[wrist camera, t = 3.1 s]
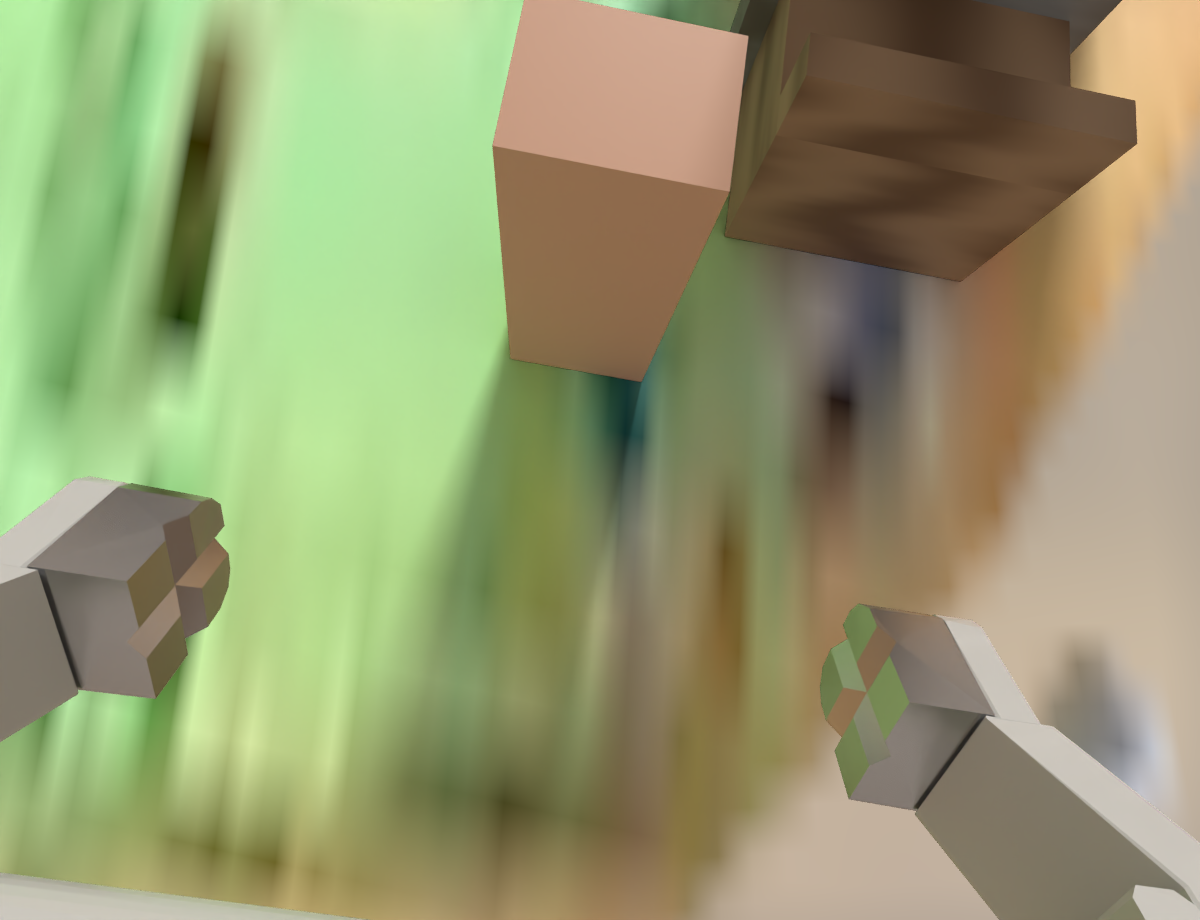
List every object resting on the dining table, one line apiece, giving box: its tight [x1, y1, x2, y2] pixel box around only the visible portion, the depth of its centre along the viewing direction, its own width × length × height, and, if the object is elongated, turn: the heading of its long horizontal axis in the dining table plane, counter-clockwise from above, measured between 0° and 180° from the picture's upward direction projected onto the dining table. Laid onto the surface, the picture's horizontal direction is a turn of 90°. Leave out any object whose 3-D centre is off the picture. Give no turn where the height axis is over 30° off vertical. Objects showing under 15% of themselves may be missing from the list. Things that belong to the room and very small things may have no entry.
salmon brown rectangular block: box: [493, 0, 748, 382], centre depth 21 cm, size 5×4×12 cm
